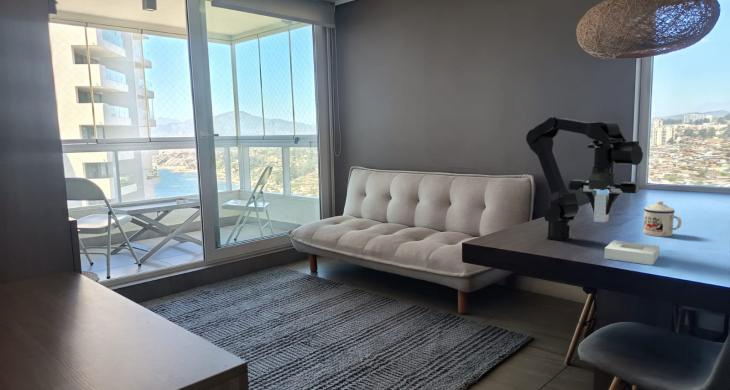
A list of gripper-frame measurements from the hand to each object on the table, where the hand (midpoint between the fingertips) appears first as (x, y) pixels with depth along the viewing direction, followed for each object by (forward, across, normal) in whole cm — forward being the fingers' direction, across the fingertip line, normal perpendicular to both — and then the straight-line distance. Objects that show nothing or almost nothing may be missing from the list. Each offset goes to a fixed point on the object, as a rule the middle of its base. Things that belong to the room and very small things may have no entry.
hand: (601, 213), depth 146 cm
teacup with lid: (+11, +13, +32) cm, 36 cm away
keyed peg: (+2, 0, 0) cm, 2 cm away
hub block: (+11, +10, -6) cm, 16 cm away
